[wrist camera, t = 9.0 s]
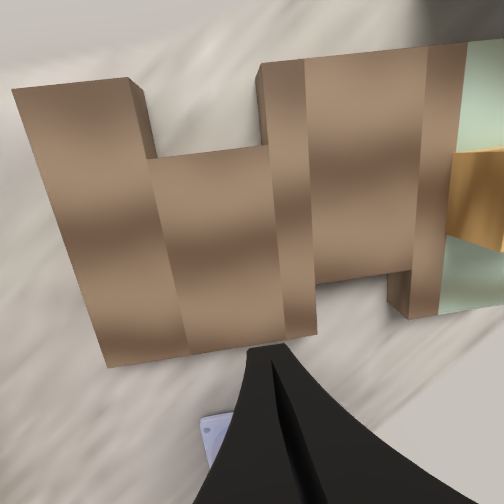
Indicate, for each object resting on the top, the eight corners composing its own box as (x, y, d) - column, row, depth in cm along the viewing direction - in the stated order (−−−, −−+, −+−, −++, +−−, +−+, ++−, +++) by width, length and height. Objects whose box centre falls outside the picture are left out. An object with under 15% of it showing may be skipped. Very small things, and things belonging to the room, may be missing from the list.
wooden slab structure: (477, 287, 21) (510, 303, 19) (121, 343, 19) (107, 368, 17) (514, 50, 16) (565, 31, 14) (45, 100, 15) (10, 88, 12)
